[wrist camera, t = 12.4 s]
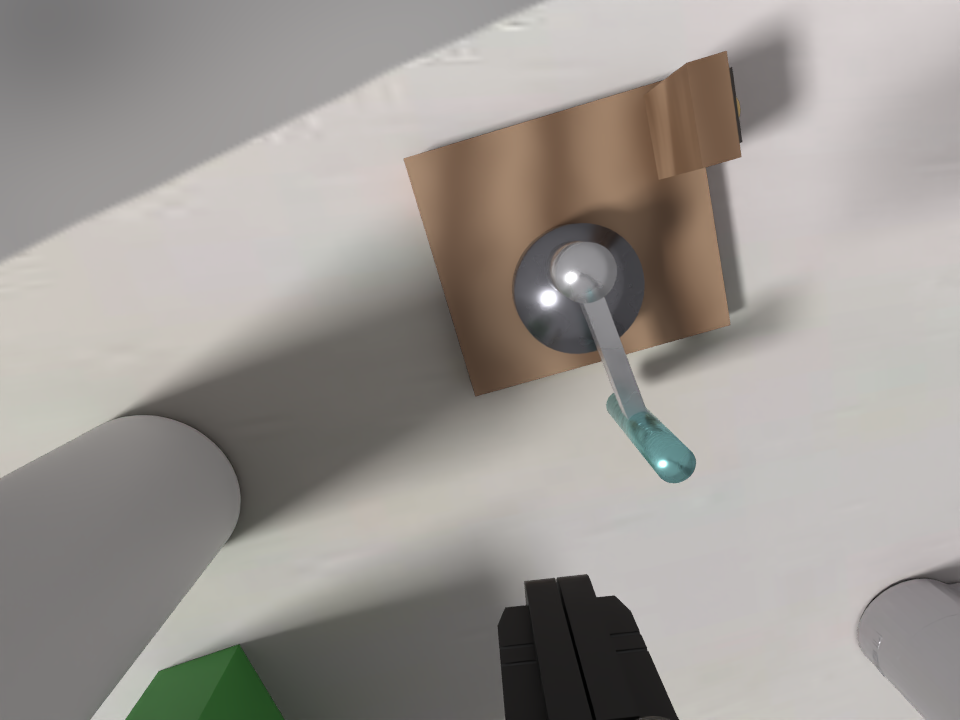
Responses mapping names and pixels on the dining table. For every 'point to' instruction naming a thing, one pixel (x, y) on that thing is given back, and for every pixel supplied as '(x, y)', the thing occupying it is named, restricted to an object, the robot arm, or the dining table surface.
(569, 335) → the lever
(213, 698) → the hardback book
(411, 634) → the dining table surface
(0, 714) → the cylinder vase
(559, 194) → the stand
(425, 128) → the dining table surface
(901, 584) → the robot arm
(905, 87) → the dining table surface
